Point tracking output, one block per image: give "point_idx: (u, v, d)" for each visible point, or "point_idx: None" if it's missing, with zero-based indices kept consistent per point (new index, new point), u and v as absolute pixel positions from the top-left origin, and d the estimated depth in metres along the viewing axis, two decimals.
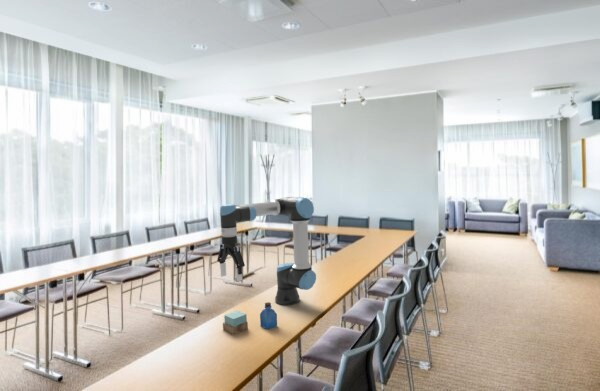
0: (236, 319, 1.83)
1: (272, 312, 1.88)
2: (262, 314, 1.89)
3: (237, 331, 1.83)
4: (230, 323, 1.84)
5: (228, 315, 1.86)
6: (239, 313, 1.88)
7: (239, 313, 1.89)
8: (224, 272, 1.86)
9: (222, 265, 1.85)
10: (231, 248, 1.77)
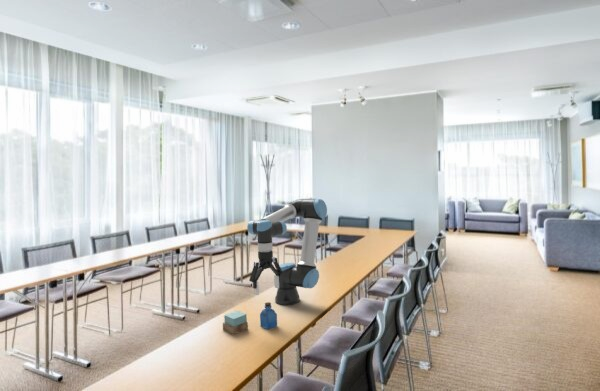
0: (236, 319, 1.83)
1: (272, 312, 1.88)
2: (262, 314, 1.89)
3: (237, 331, 1.83)
4: (230, 323, 1.84)
5: (228, 315, 1.87)
6: (239, 313, 1.89)
7: (239, 312, 1.89)
8: (276, 284, 1.93)
9: (275, 277, 1.94)
10: None
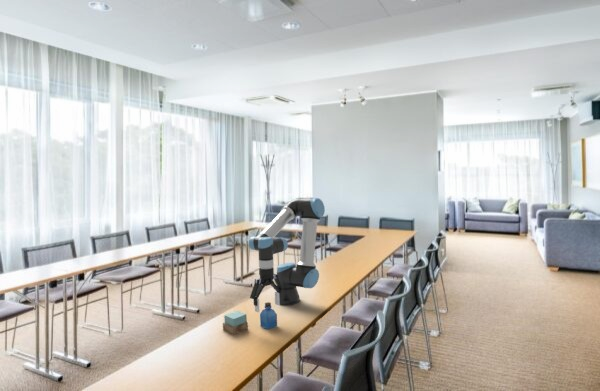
0: (236, 319, 1.83)
1: (272, 312, 1.88)
2: (262, 314, 1.89)
3: (237, 331, 1.83)
4: (230, 323, 1.84)
5: (228, 315, 1.86)
6: (239, 313, 1.88)
7: (239, 313, 1.89)
8: (277, 301, 1.94)
9: (275, 294, 1.94)
10: None
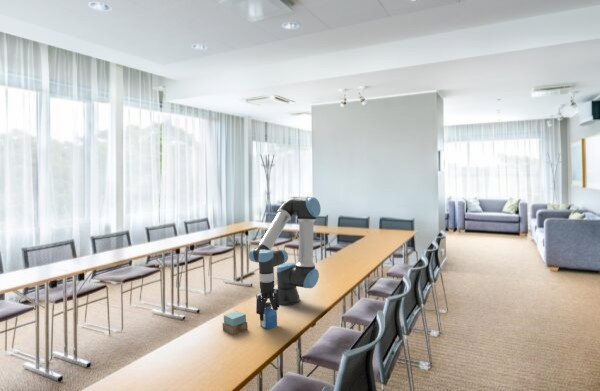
0: (235, 319, 1.83)
1: (272, 312, 1.88)
2: None
3: (237, 331, 1.83)
4: (229, 323, 1.84)
5: (227, 315, 1.86)
6: (238, 313, 1.88)
7: (238, 313, 1.89)
8: None
9: None
10: None
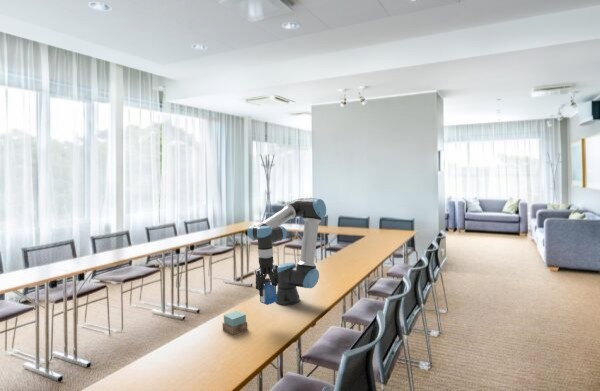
0: (235, 319, 1.83)
1: (271, 288, 1.88)
2: None
3: (237, 331, 1.83)
4: (229, 323, 1.83)
5: (227, 315, 1.86)
6: (238, 313, 1.88)
7: (238, 313, 1.89)
8: None
9: None
10: None
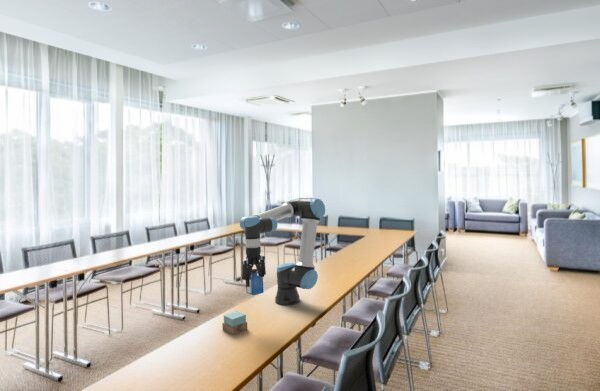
0: (235, 319, 1.83)
1: (258, 279, 1.86)
2: None
3: (237, 331, 1.83)
4: (229, 323, 1.83)
5: (227, 315, 1.86)
6: (238, 313, 1.88)
7: (238, 313, 1.89)
8: None
9: None
10: None
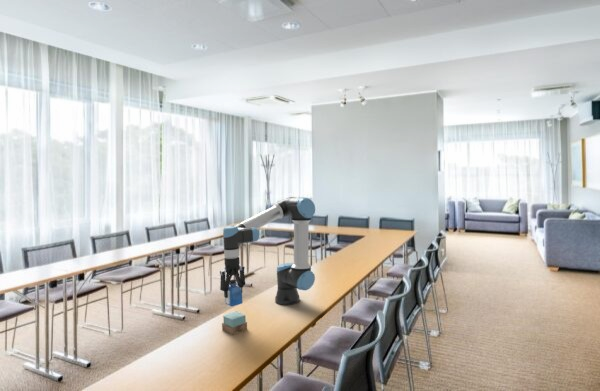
0: (235, 320, 1.82)
1: (237, 289, 1.85)
2: None
3: (236, 331, 1.83)
4: (229, 324, 1.83)
5: (227, 316, 1.86)
6: (238, 314, 1.88)
7: (238, 313, 1.89)
8: None
9: None
10: None
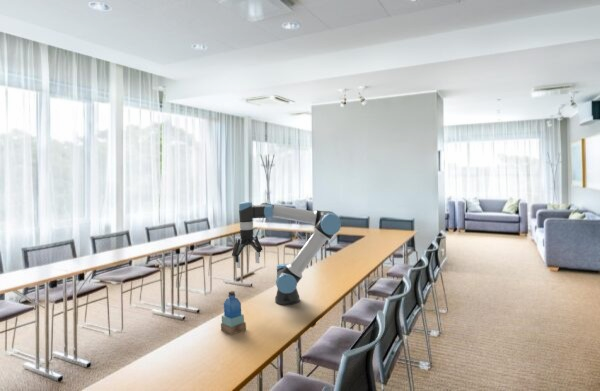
0: (233, 319, 1.83)
1: (235, 301, 1.85)
2: (226, 303, 1.85)
3: (235, 331, 1.83)
4: (227, 324, 1.83)
5: (225, 316, 1.86)
6: None
7: None
8: (257, 260, 2.15)
9: (255, 253, 2.16)
10: None
